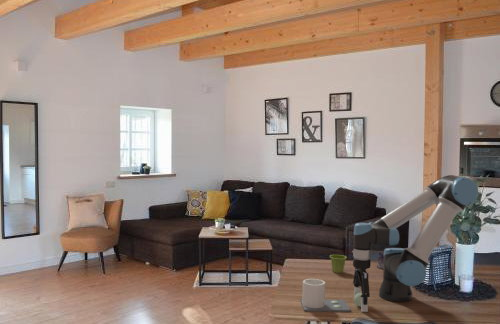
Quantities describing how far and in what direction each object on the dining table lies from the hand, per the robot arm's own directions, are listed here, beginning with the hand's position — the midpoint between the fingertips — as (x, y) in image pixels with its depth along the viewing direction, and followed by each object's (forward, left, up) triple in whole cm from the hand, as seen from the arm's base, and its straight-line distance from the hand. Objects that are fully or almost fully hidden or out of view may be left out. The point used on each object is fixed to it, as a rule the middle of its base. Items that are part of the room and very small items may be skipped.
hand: (360, 306), depth 207 cm
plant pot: (-1, -56, 0) cm, 56 cm away
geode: (-35, -69, 0) cm, 77 cm away
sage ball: (0, 0, +3) cm, 3 cm away
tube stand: (+16, 0, 0) cm, 16 cm away
